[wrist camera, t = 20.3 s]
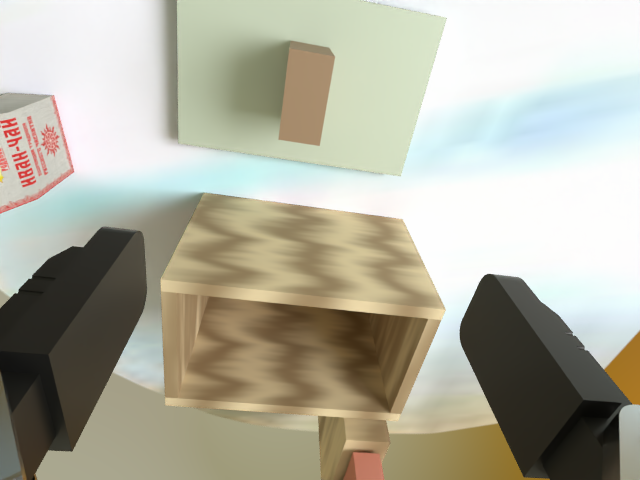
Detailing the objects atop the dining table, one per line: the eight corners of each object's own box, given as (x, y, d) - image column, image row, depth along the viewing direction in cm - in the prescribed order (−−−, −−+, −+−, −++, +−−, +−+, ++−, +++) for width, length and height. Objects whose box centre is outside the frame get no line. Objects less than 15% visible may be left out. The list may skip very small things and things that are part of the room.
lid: (183, 137, 36) (157, 168, 29) (183, -36, 29) (148, -47, 23) (396, 169, 38) (417, 204, 32) (439, 17, 32) (476, 21, 25)
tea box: (32, 169, 36) (-50, 221, 28) (7, 92, 33) (-96, 124, 24) (74, 171, 37) (5, 223, 28) (53, 95, 33) (-32, 127, 25)
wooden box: (199, 378, 52) (165, 504, 39) (203, 192, 38) (155, 289, 25) (349, 389, 54) (365, 511, 41) (402, 219, 41) (450, 320, 28)
